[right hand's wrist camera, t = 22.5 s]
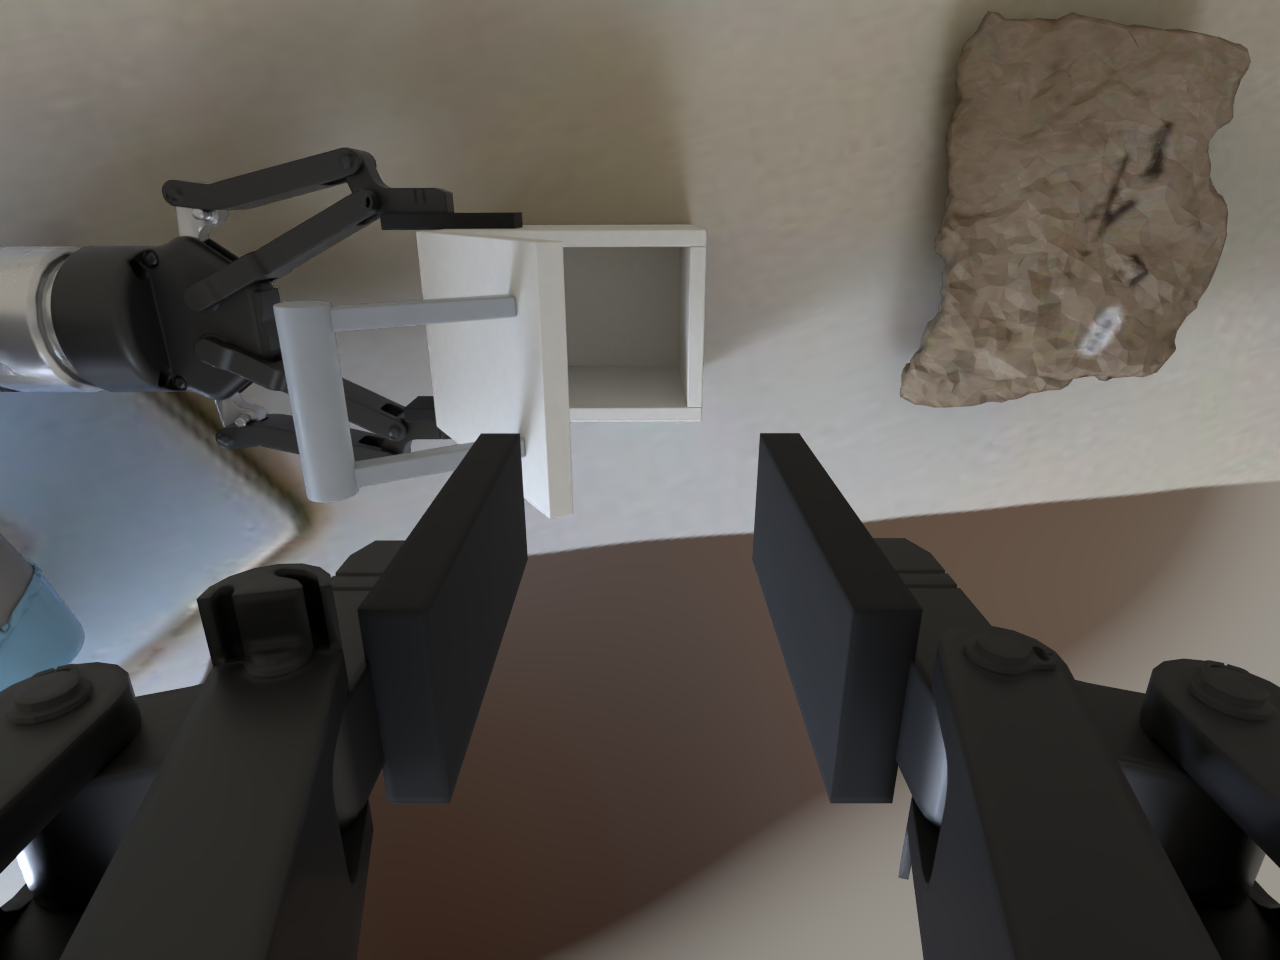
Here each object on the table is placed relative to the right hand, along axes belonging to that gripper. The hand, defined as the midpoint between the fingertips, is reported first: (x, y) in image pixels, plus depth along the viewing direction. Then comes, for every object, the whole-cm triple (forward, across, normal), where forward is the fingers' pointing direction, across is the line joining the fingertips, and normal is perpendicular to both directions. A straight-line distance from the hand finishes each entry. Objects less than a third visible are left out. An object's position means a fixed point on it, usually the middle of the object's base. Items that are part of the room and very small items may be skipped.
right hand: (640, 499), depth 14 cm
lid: (+16, +6, 0) cm, 17 cm away
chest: (+32, +3, 0) cm, 33 cm away
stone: (+33, -23, -4) cm, 40 cm away
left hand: (+26, +6, 0) cm, 26 cm away
